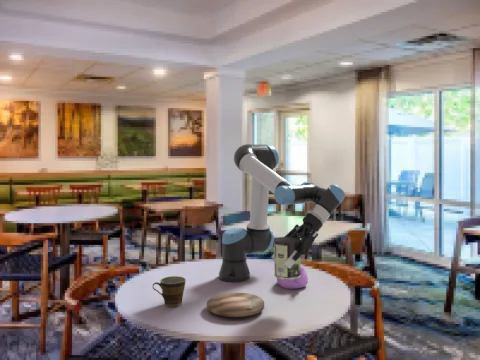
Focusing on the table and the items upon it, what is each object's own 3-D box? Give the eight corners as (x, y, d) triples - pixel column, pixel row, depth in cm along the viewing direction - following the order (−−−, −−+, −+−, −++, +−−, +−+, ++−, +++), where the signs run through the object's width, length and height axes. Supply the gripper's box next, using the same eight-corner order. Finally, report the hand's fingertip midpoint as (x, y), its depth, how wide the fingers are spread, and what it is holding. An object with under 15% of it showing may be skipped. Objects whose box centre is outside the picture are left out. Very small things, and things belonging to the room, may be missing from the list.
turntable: (196, 307, 159) (196, 298, 159) (241, 296, 172) (241, 287, 172) (228, 326, 141) (228, 316, 141) (276, 312, 154) (276, 302, 154)
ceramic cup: (184, 299, 168) (184, 275, 168) (186, 308, 159) (186, 282, 158) (152, 301, 166) (152, 277, 165) (152, 310, 156) (152, 285, 155)
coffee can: (301, 272, 161) (301, 237, 160) (300, 280, 151) (300, 243, 150) (275, 271, 163) (275, 236, 162) (272, 279, 153) (272, 242, 152)
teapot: (289, 294, 174) (289, 269, 174) (270, 281, 193) (270, 257, 192) (316, 291, 179) (317, 266, 178) (295, 278, 197) (296, 255, 197)
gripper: (338, 229, 151) (301, 276, 146) (306, 220, 172) (273, 261, 167) (326, 216, 148) (288, 264, 144) (295, 208, 169) (261, 249, 165)
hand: (280, 262), depth 155 cm, fingers closed on coffee can, 10 cm apart
